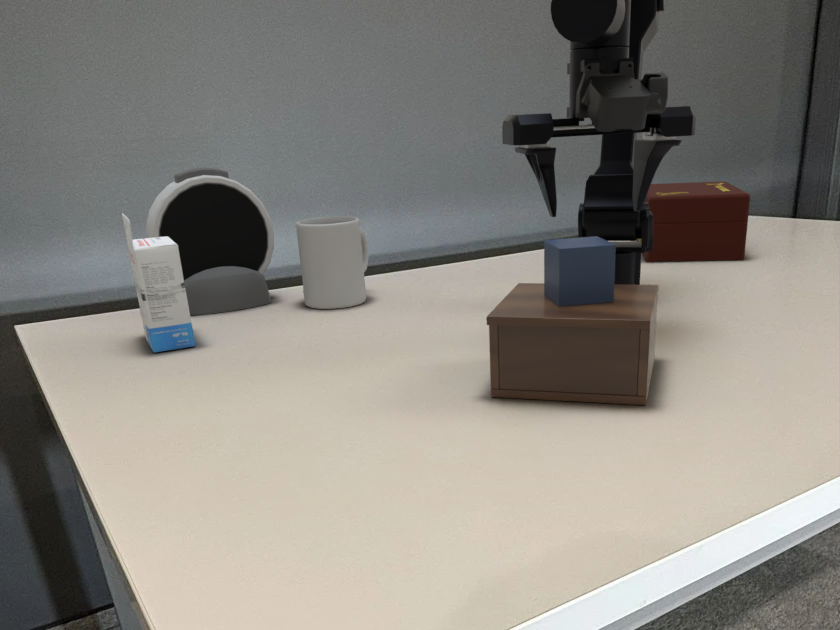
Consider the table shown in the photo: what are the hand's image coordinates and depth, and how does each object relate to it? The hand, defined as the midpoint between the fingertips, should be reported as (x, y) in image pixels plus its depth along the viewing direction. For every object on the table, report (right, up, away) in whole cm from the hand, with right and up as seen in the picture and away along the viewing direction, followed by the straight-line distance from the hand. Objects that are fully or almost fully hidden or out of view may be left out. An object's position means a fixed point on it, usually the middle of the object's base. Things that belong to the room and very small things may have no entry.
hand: (595, 213), depth 84 cm
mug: (-30, -4, +28) cm, 41 cm away
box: (+24, +9, +51) cm, 57 cm away
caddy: (-3, -18, -9) cm, 21 cm away
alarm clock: (-48, -5, +28) cm, 55 cm away
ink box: (-49, -12, +10) cm, 51 cm away
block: (-4, -11, -12) cm, 17 cm away
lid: (-4, -12, -12) cm, 18 cm away
